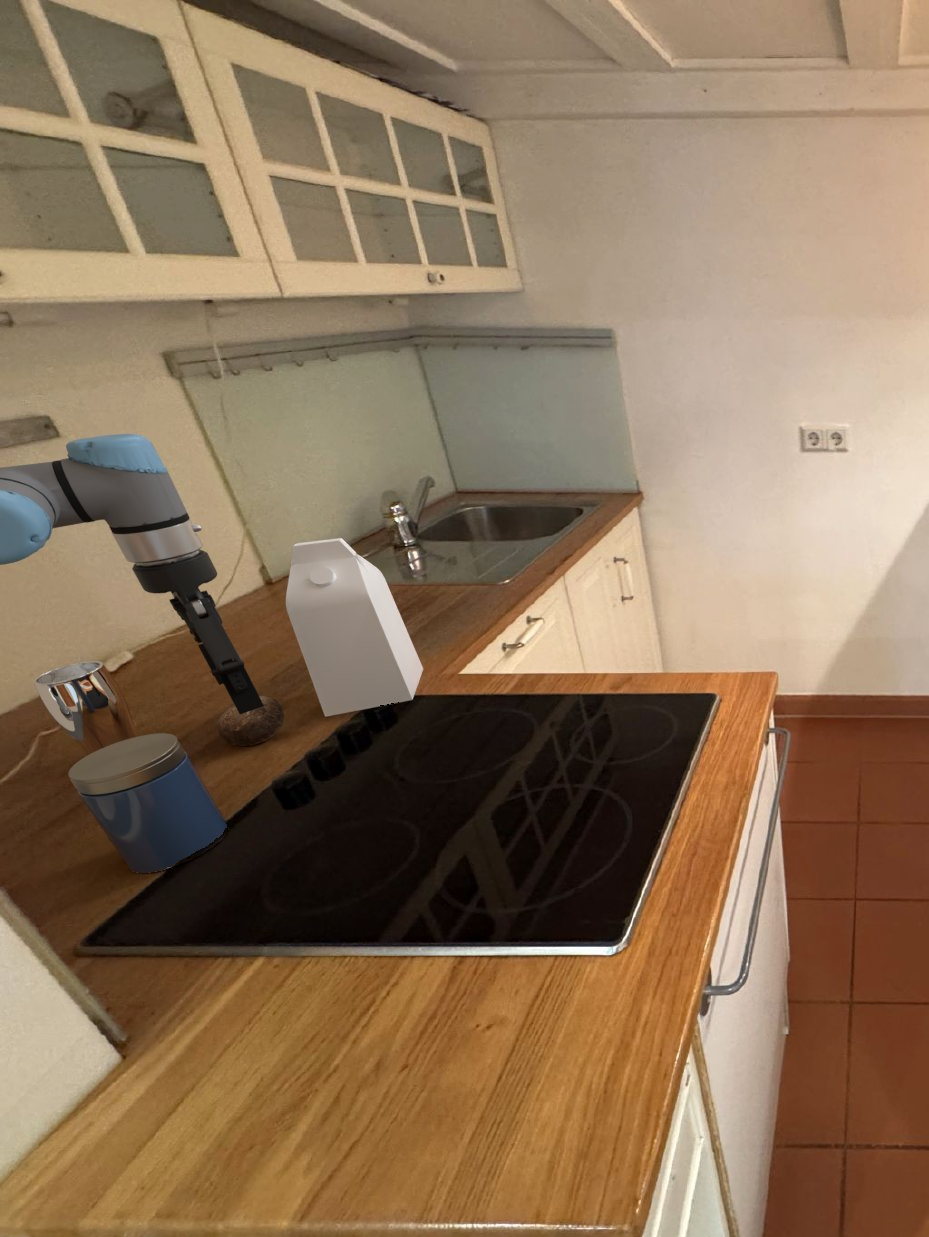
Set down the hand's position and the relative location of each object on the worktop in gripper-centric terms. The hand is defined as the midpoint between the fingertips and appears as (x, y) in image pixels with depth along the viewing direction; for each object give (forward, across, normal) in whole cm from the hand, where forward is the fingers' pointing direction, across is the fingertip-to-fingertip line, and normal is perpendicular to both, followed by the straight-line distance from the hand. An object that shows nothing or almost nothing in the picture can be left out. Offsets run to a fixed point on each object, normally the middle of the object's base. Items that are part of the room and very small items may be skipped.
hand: (240, 694), depth 101 cm
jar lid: (-6, -22, +12) cm, 26 cm away
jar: (+7, -22, +12) cm, 26 cm away
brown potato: (+8, 0, 0) cm, 8 cm away
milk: (+8, +1, -16) cm, 18 cm away
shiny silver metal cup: (+7, +7, +14) cm, 18 cm away
